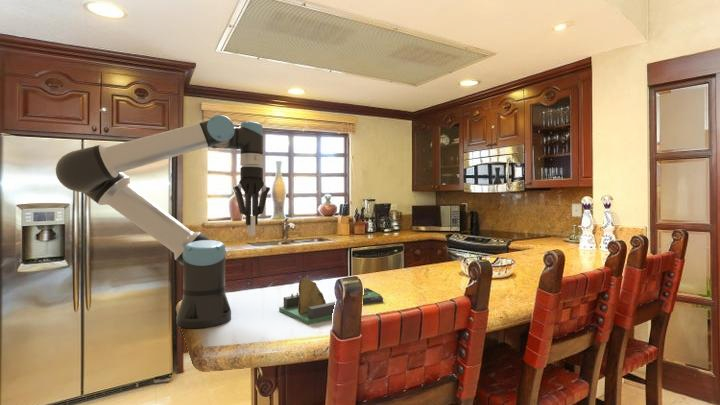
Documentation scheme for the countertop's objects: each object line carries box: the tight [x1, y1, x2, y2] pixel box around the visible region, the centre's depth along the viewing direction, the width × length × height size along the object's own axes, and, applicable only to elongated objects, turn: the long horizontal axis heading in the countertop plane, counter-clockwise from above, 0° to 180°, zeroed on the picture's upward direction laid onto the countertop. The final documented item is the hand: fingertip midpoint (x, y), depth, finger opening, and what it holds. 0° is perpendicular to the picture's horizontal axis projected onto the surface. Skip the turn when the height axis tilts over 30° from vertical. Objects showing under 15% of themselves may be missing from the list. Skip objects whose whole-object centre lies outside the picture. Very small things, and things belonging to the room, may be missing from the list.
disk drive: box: [362, 287, 384, 305], centre depth 136 cm, size 10×3×15 cm
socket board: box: [278, 292, 336, 326], centre depth 117 cm, size 14×18×5 cm
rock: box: [298, 278, 327, 314], centre depth 117 cm, size 11×9×10 cm
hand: (251, 234), depth 128 cm, fingers closed
